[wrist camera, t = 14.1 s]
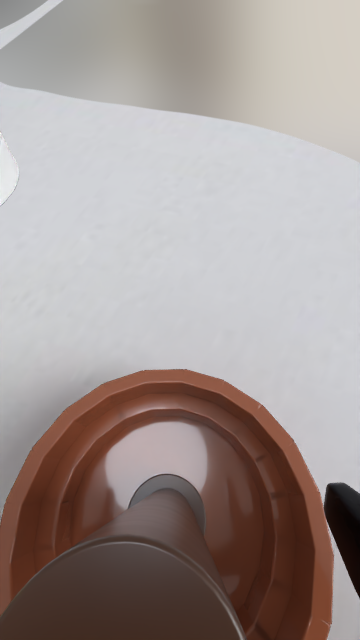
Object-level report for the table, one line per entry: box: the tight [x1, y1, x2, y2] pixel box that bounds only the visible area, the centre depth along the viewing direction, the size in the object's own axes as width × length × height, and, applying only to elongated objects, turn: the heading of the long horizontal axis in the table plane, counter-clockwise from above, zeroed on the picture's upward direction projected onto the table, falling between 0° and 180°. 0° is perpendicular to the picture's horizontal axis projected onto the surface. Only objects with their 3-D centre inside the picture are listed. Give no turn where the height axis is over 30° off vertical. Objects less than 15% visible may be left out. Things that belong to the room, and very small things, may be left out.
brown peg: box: [0, 474, 247, 640], centre depth 8 cm, size 4×4×14 cm
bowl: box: [0, 369, 334, 640], centre depth 13 cm, size 12×12×4 cm
